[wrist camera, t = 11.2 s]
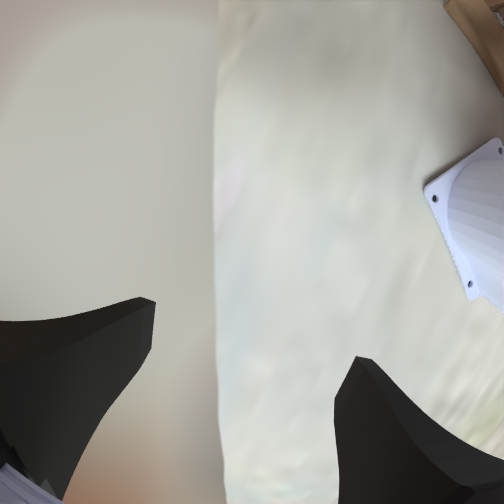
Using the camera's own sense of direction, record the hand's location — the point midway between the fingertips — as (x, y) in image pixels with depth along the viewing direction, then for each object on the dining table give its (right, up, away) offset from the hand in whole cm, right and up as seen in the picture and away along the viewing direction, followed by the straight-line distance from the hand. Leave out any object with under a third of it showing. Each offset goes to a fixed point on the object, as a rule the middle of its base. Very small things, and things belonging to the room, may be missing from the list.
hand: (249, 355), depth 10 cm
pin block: (+20, +20, +3) cm, 28 cm away
